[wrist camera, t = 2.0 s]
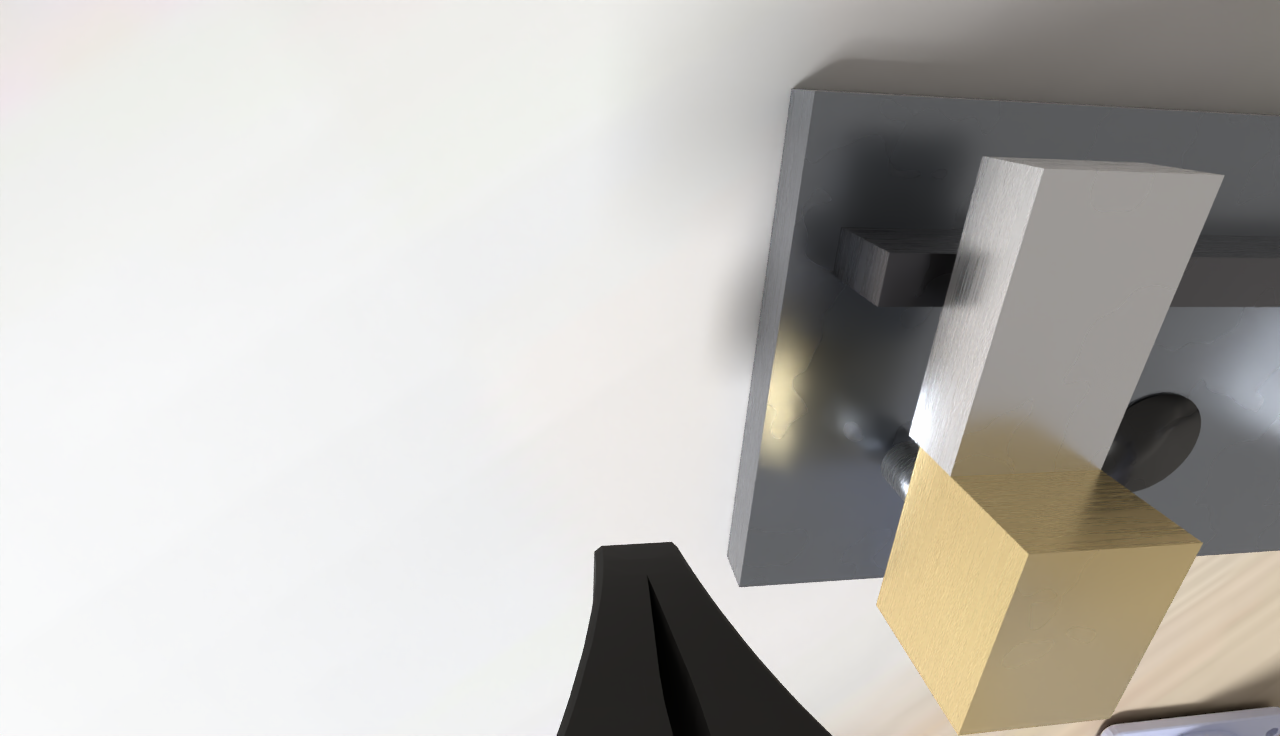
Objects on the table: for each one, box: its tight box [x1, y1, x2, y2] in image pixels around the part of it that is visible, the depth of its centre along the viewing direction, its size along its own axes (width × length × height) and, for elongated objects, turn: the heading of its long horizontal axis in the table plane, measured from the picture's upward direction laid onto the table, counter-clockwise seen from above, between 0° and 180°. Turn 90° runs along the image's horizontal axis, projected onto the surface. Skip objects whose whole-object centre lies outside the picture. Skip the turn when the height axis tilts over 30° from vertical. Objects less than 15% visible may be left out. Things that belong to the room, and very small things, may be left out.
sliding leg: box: [876, 156, 1225, 735], centre depth 12 cm, size 9×3×5 cm, turn 177°
